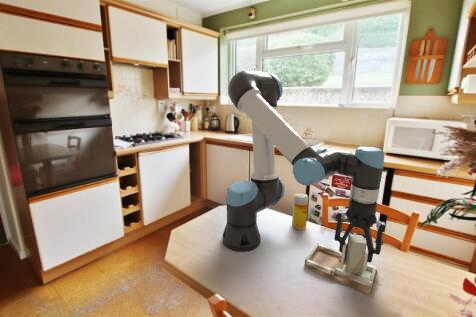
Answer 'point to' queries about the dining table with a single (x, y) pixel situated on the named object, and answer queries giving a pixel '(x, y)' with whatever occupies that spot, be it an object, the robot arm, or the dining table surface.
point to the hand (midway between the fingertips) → (353, 265)
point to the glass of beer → (300, 210)
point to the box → (355, 254)
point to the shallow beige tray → (338, 268)
